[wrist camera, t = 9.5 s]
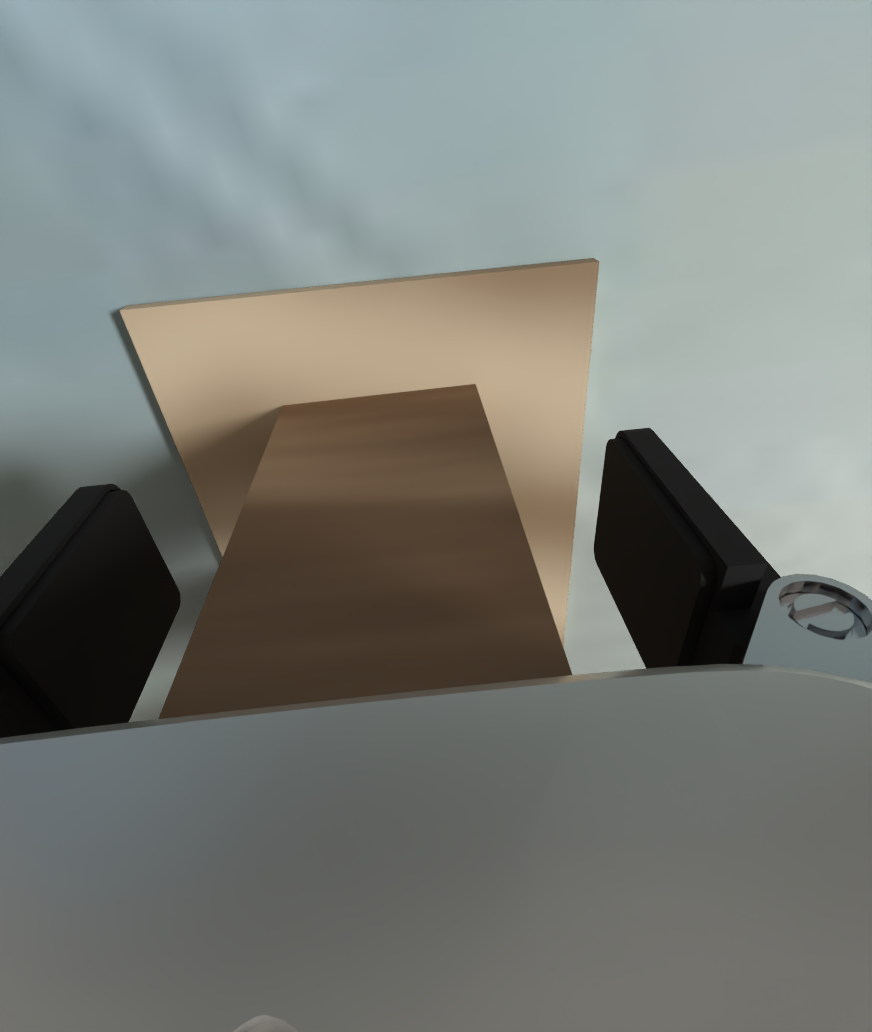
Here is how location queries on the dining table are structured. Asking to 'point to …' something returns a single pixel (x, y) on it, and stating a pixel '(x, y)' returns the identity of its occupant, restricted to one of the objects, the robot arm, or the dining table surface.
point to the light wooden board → (386, 377)
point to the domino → (371, 563)
